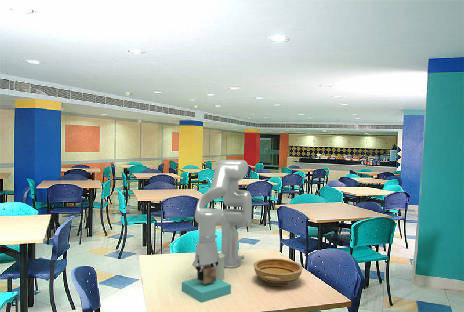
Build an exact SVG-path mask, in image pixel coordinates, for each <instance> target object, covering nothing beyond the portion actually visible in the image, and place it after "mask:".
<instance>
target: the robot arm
mask: <svg viewBox="0 0 464 312" xmlns="http://www.w3.org/2000/svg"><path fill="white" fill-rule="evenodd" d="M248 170H249V164H248V162H247V161H246V160H244V159H221V160H218V161H217V162H216V166H215V169H214V172H213V177H212V181H211V184H210V188H209V189H208V190H207V191H206V192H205V193H203V195H202V196H201V197H200V198H199V199H198V201H197V204H196V207H195V211H194V212H195V213H194V220H195V222H196V223H197V224H198V225H199V226H198V241H197V243H196V247H195V252H194V261H193V262H192V263H191V265H192V267H193V268H194V269H195V270H196V271H197V273H198V279H199V280H201V281H203V272H202V270H203V267H204V265H208V264H210V265H211V266H213V267H215V268H216V266H217V265H218V263H219V262H220V260H221V258H220V257H219V256H218V253H219V252H218V251H219V250H218V249H219V248H218V244H217V241H216V239H217V238H218V234H217V233H216V230H217V229H216V227H217V226H220V225H221V254H224V269H225V268H226V269H234V268H238V267H240V266H241V260H245V255H239V232H238V229H237V228H236V227H239V228H247V227H250V226H251V223H252V208H253V207H252V204H253V203H252V202H253V201H252V198H253V197H252V193H251V192H250V191H249V190H245V189H244V190H243V189H239V181H241V180H243V178H245V177H246V176H247V174H248ZM221 198H222V199H223V200H222V202H223V204H224V206H226V207H230V208H224V209H220V208H211V207H210V208H209V207H206V206H207V205H208V203H210V202H212V201H214V200H217V199H221ZM231 207H232V208H231ZM239 208H240V209H239ZM200 266H201V267H200Z"/></svg>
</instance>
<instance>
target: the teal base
mask: <svg viewBox="0 0 464 312" xmlns="http://www.w3.org/2000/svg"><path fill="white" fill-rule="evenodd" d="M181 291H182V292H184V293H186V294H187V295H189V296H190V297H192V298H194V299H195V300H197V301H199V302H200V303H204V302H208V301H211V300H214V299H218V298H220V297H223V296H228V295H230V294H231V293H232V284H230V283H228V282H226V281H224V280H220V279H218V278H216V281H214V282H210V283H207V284H204V283H202V282H200V281H198V280H197V277H196V278H192V279H189V280H184V281H181Z"/></svg>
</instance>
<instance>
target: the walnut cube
mask: <svg viewBox="0 0 464 312" xmlns="http://www.w3.org/2000/svg"><path fill="white" fill-rule="evenodd" d="M200 267H201V266H200ZM202 272H203V281H201V280H199V279H198V272H197V276H196V278H197V280H198V281H200V282H202V283H204V284H207V283H210V282H214V281H216V268H215V267H213V266H210V265H204V267H203V270H202Z"/></svg>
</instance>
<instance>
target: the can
mask: <svg viewBox="0 0 464 312" xmlns="http://www.w3.org/2000/svg"><path fill="white" fill-rule="evenodd" d="M218 256H219V257H220V258H221V260H220V262H219V263H218V265H217V266H216V278H218V279H220V280H222V281H224V279H225V268H224V254H221V253H220V252H218ZM208 265H210V264H208ZM210 266H211V265H210Z"/></svg>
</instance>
